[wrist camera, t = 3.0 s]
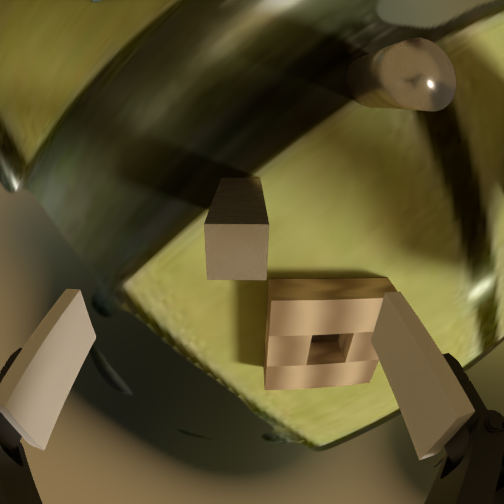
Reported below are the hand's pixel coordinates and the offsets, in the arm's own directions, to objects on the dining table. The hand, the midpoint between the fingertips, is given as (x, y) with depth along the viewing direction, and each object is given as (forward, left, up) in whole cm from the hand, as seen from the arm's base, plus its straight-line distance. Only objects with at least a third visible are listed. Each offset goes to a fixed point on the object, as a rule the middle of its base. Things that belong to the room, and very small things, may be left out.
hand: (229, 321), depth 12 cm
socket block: (-10, +16, -18) cm, 26 cm away
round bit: (-12, -12, -18) cm, 25 cm away
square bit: (0, 0, -18) cm, 18 cm away
